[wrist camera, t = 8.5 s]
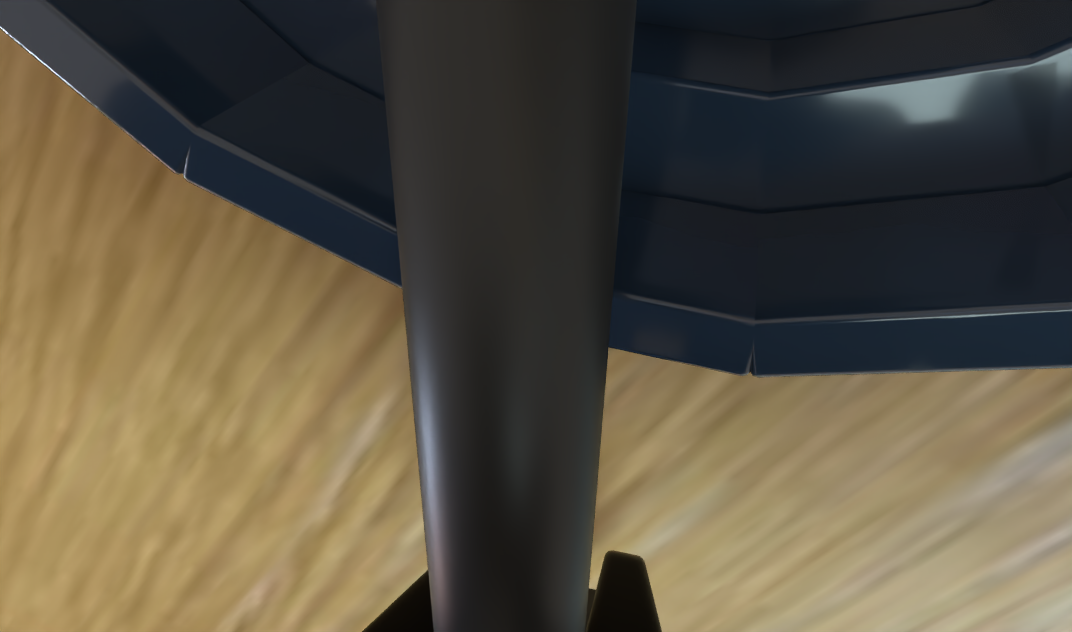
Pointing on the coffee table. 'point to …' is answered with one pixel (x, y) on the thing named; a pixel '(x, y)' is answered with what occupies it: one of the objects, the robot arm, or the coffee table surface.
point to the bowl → (674, 163)
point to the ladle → (507, 288)
